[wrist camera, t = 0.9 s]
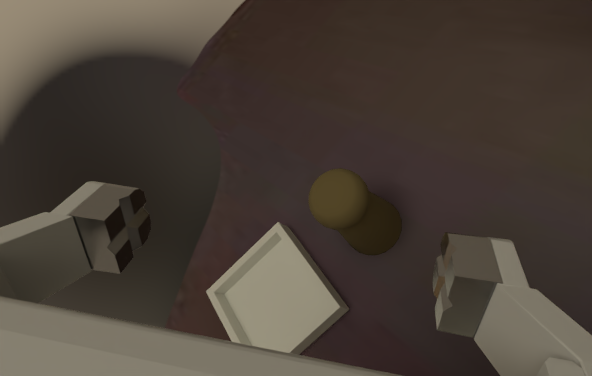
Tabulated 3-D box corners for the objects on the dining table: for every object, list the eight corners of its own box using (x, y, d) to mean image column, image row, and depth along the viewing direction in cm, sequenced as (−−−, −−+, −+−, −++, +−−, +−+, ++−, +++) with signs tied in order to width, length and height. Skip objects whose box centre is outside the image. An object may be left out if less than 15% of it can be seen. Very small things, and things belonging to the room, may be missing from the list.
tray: (289, 227, 47) (278, 221, 45) (349, 309, 40) (340, 307, 38) (219, 293, 48) (206, 291, 46) (267, 382, 42) (254, 384, 40)
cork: (359, 265, 42) (312, 242, 32) (336, 216, 45) (288, 182, 36) (412, 237, 40) (379, 204, 31) (385, 188, 43) (347, 145, 34)
